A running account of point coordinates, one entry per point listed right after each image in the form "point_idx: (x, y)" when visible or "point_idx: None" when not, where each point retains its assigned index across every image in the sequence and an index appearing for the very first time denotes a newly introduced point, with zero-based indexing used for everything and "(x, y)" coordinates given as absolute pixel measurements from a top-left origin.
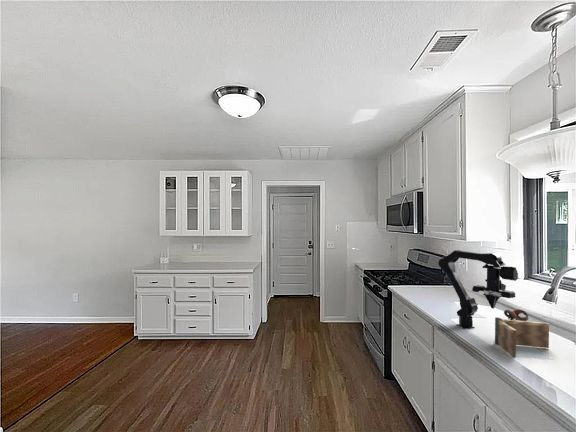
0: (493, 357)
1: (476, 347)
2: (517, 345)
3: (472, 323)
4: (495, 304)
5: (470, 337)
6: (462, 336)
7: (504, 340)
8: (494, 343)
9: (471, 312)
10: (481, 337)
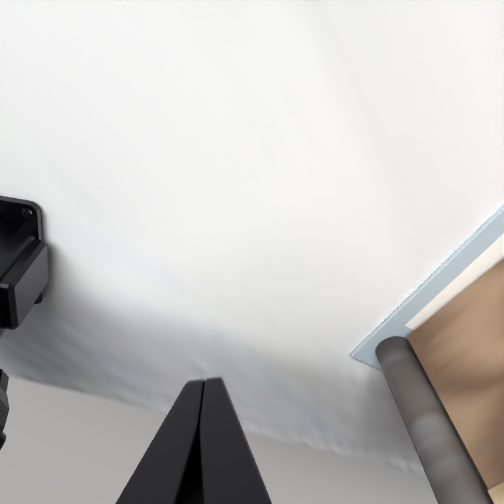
0: None
1: (349, 454)
2: (492, 265)
3: (29, 267)
4: (250, 455)
5: None
6: None
7: None
8: (376, 358)
9: (2, 407)
10: (250, 330)
